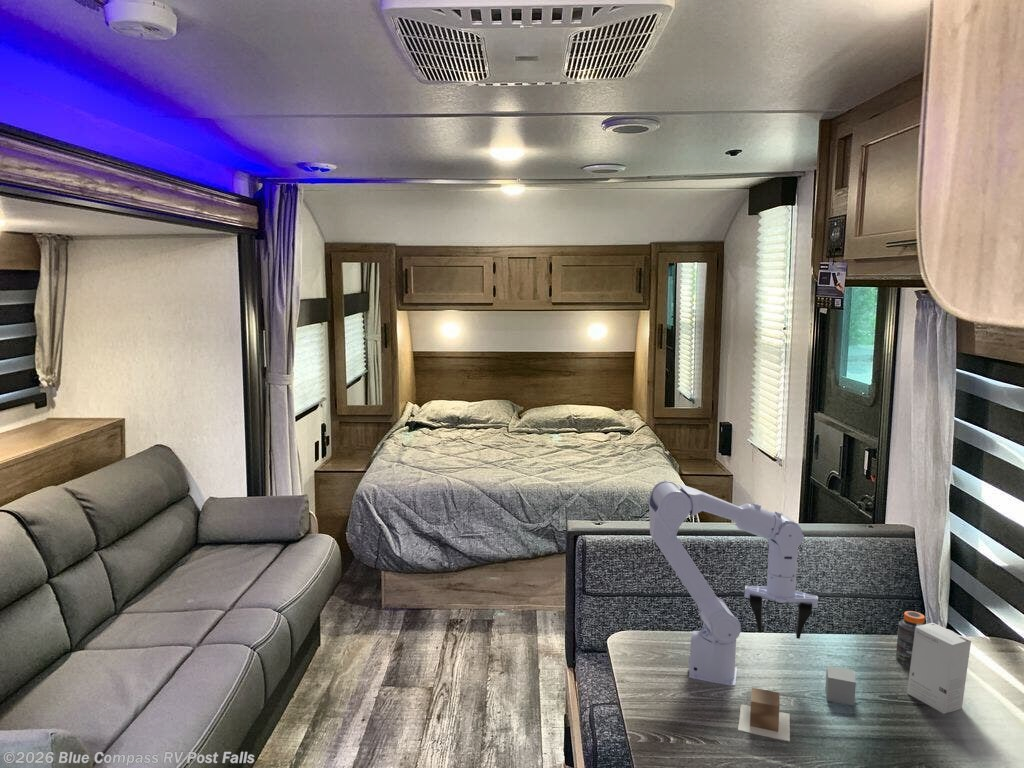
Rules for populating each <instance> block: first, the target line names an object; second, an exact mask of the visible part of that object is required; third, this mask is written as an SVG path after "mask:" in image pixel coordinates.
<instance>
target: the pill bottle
mask: <svg viewBox="0 0 1024 768" xmlns="http://www.w3.org/2000/svg"><path fill="white" fill-rule="evenodd" d="M925 619H926V617H925V615H924V614H923V613H921V612H917V611H913V610H907V611H904V613H903V619H901V620H900V621H899V622H898V625H897V626H898V627H897V637H896V638H897V640H896V653H895V655H896V657H895V658H896V661H898V663H899V664H902V665H903V666H907V667H909V668H910V665H911V657H912V649H913V642H914V634H915V627H916V626H920V625H925V624H926V621H925Z"/></svg>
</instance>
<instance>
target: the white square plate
mask: <svg viewBox="0 0 1024 768" xmlns="http://www.w3.org/2000/svg"><path fill="white" fill-rule="evenodd" d="M739 709H740V711H739V720H738V727H737V731H740V732H744V733H749V734H752V735H753V734H754V735H759V736H762V737H767V738H771V739H776V740H781V741H785V742H789V743H790V742H791V738H790V737H791V727H790V725H791V719H790V718H791V716H790V714H791V713H787V712H781V711H779V727H778V732H776V731H771V730H766V729H762V728H757V727H752V726H750V712H751V705H747V704H740V708H739Z"/></svg>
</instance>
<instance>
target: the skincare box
mask: <svg viewBox="0 0 1024 768" xmlns="http://www.w3.org/2000/svg"><path fill="white" fill-rule="evenodd" d="M924 624H925V625H920V626H916V627H915V634H914V642H913V649H912V657H911V665H910V667H909V674H908V682H907V690H906V693H907V695H909V696H911V697H913V698H915V699H917V700H918V701H920V702H922V703H924V704H925V705H928V706H929V707H931V708H932V709H934V710H937V712H940V713H941V714H943V715H945V714H948V713H952V712H956V711H959V710H961V708H962V709H963V702H964V697H965V696H964V695H965V687H966V681H967V673H968V665H969V659H970V658H969V657H970V651H971V645H972V640H971V639H968V638H967V637H964V636H962V635H960V634H958V633H956V632H955V631H953V630H951V629H948V628H945V627H943V626H941V625H939V624H937V623H934V622H929V623H924Z"/></svg>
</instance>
